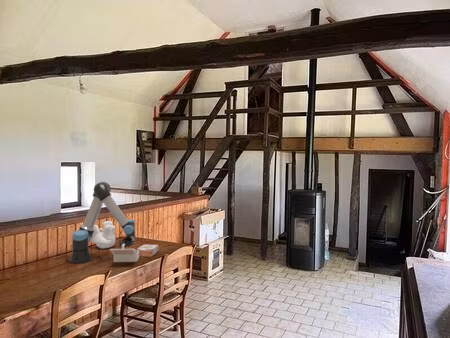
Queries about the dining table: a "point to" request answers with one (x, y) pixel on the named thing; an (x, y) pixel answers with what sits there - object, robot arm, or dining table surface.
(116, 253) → the mailer lid
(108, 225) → the decorative rooster
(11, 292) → the dining table surface
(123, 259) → the box
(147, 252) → the cracker box
